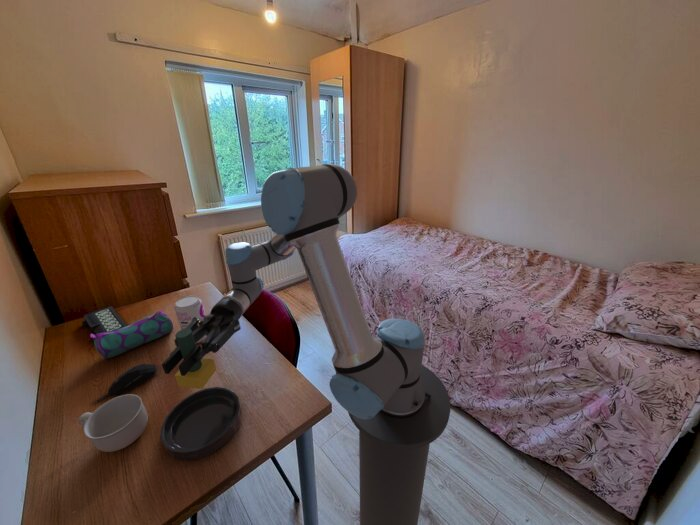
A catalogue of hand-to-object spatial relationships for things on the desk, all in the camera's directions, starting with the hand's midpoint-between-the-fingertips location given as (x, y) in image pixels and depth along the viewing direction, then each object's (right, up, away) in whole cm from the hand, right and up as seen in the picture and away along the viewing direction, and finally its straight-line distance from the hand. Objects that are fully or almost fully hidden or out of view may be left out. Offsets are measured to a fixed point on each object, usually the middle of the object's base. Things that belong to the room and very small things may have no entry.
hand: (173, 370), depth 61 cm
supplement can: (-16, -4, +41) cm, 44 cm away
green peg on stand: (+1, -5, +8) cm, 10 cm away
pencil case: (-35, -5, +38) cm, 52 cm away
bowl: (+2, -17, +10) cm, 20 cm away
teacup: (-18, -19, +8) cm, 27 cm away
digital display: (-55, -2, +47) cm, 72 cm away
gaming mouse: (-26, -13, +22) cm, 36 cm away
